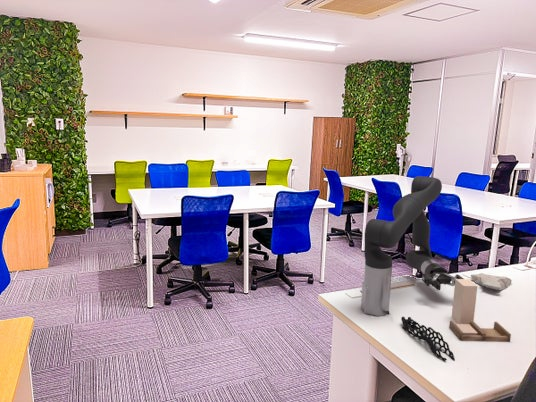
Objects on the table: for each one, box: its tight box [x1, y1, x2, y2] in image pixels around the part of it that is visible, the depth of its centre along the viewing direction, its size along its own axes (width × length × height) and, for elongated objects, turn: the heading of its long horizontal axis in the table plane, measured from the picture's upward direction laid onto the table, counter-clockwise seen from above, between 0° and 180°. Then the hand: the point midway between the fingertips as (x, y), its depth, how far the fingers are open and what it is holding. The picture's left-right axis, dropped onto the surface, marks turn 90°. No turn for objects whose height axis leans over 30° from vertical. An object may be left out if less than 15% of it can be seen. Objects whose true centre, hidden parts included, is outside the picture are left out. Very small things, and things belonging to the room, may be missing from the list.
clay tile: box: [455, 323, 478, 335], centre depth 126 cm, size 4×6×2 cm
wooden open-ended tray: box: [448, 320, 512, 343], centre depth 126 cm, size 15×8×4 cm, turn 89°
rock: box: [470, 272, 513, 291], centre depth 169 cm, size 21×5×15 cm
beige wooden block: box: [451, 278, 478, 325], centre depth 133 cm, size 4×6×15 cm
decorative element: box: [400, 316, 456, 362], centre depth 121 cm, size 22×5×6 cm, turn 16°
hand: (451, 287), depth 142 cm, fingers open, 8 cm apart
